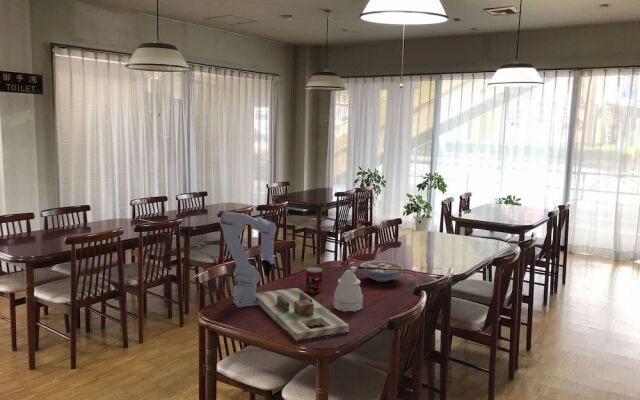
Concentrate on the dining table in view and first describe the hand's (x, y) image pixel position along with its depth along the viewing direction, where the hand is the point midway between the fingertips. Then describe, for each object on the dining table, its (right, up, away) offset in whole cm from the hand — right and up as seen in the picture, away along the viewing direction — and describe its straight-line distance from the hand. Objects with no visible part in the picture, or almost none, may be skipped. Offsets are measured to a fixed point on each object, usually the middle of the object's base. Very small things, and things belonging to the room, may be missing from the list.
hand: (267, 275), depth 242 cm
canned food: (+22, -9, +9) cm, 25 cm away
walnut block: (+18, -11, -29) cm, 36 cm away
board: (+15, -13, -23) cm, 31 cm away
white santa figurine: (+37, -12, -11) cm, 41 cm away
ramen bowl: (+57, -7, +30) cm, 65 cm away
